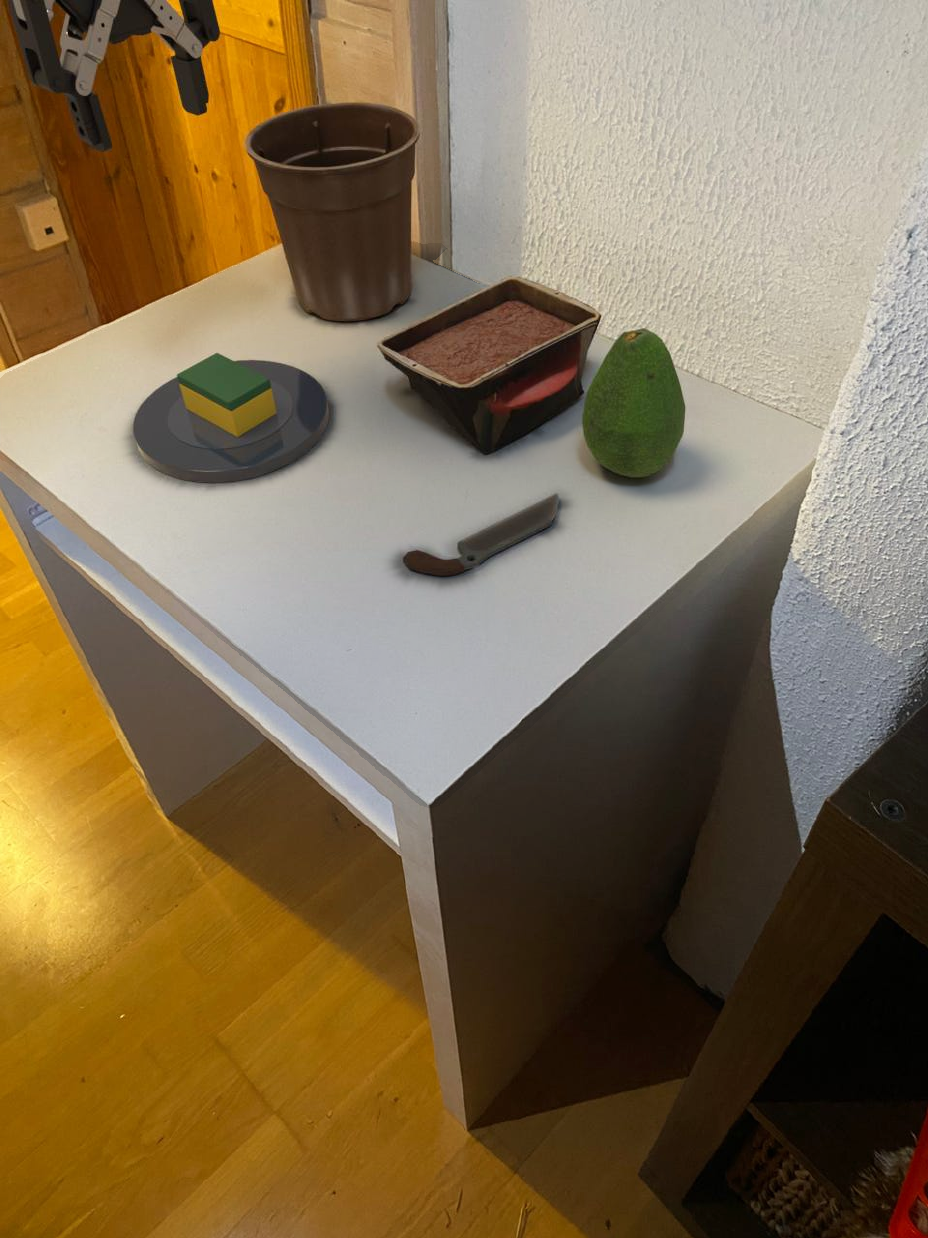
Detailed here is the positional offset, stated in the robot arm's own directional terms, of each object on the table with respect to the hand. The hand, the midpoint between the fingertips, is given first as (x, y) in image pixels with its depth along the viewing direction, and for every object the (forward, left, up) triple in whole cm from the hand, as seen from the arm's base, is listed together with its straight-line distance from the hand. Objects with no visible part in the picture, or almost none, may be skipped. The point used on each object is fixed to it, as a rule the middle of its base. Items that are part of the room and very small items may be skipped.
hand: (149, 129), depth 68 cm
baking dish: (+15, -20, -23) cm, 34 cm away
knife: (0, -32, -23) cm, 40 cm away
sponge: (-2, -4, -22) cm, 22 cm away
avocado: (+14, -35, -23) cm, 45 cm away
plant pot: (+21, +4, -23) cm, 32 cm away
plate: (-2, -4, -23) cm, 23 cm away
